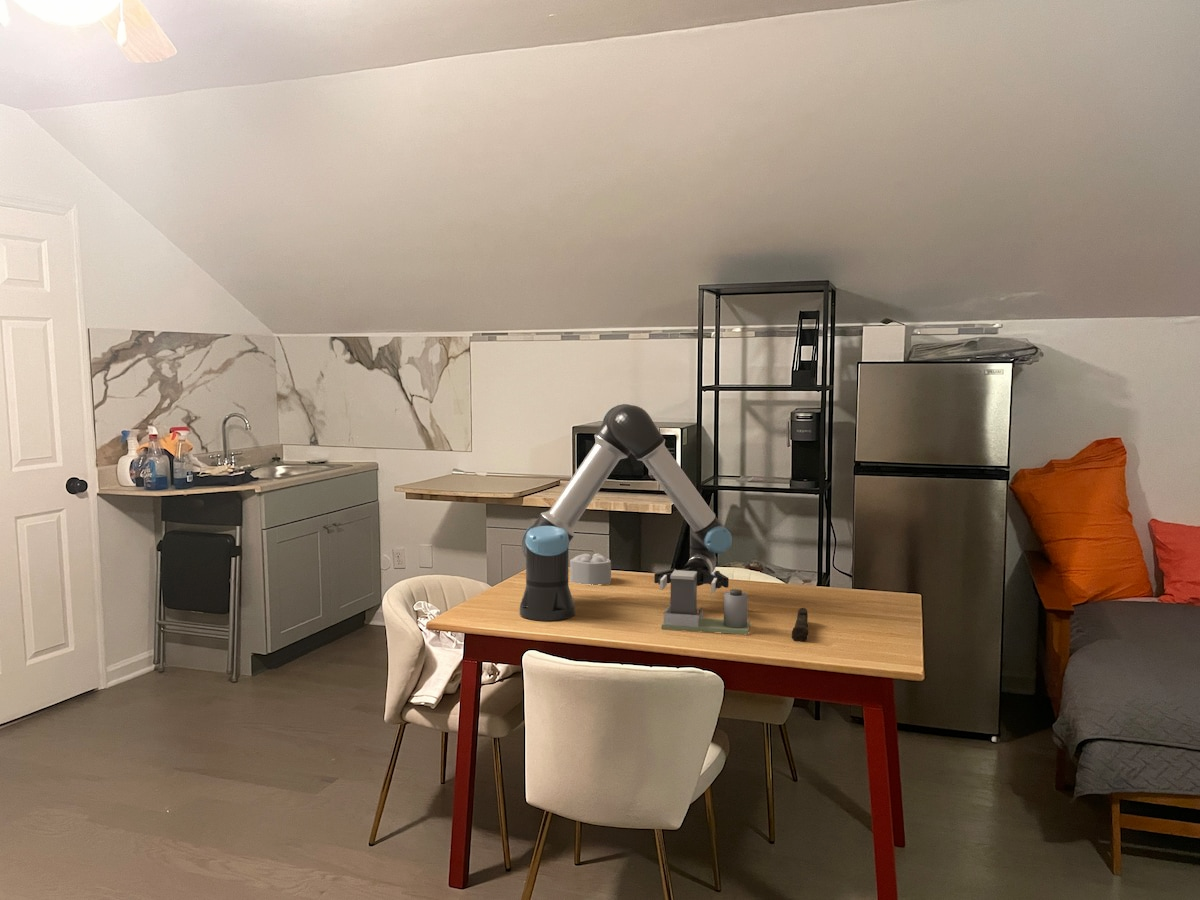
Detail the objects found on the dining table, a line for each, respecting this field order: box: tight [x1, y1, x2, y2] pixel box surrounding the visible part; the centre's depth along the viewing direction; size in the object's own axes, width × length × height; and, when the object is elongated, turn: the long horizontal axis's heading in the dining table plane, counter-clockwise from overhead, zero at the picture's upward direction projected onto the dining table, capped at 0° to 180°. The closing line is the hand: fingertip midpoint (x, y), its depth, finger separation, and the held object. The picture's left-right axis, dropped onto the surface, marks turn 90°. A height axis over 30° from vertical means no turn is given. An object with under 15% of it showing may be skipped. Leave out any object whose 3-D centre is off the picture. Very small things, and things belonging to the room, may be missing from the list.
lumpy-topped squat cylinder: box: [569, 553, 612, 585], centre depth 278 cm, size 10×13×9 cm
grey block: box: [670, 569, 698, 615], centre depth 226 cm, size 6×7×13 cm
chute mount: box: [663, 604, 704, 627], centre depth 226 cm, size 9×8×3 cm
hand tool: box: [791, 607, 810, 643], centre depth 222 cm, size 19×4×5 cm, turn 162°
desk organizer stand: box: [661, 588, 751, 636], centre depth 225 cm, size 22×9×10 cm, turn 76°
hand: (686, 586), depth 228 cm, fingers open, 13 cm apart
